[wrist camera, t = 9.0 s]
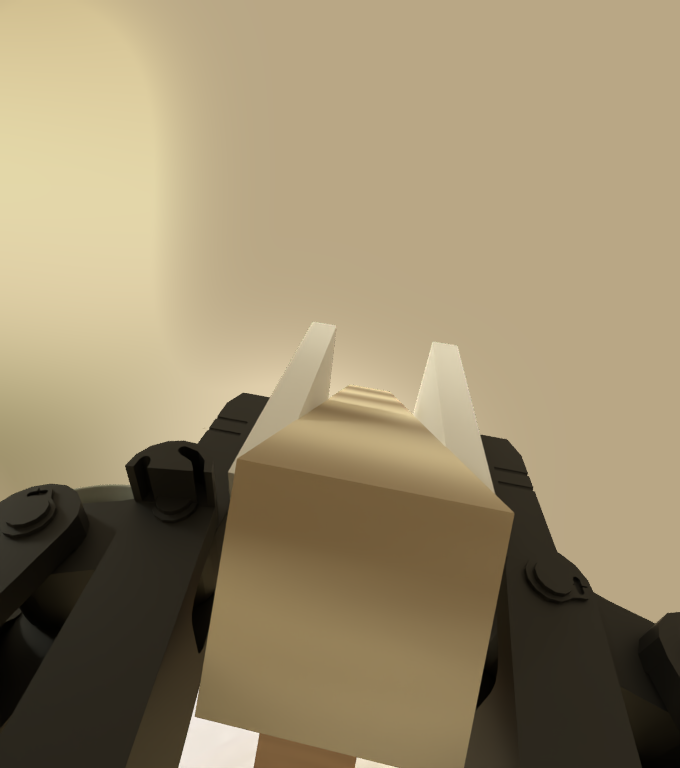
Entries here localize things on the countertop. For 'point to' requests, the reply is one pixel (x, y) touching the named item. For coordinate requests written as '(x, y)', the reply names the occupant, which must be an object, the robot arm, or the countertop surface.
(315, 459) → the birch bar
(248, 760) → the countertop surface
